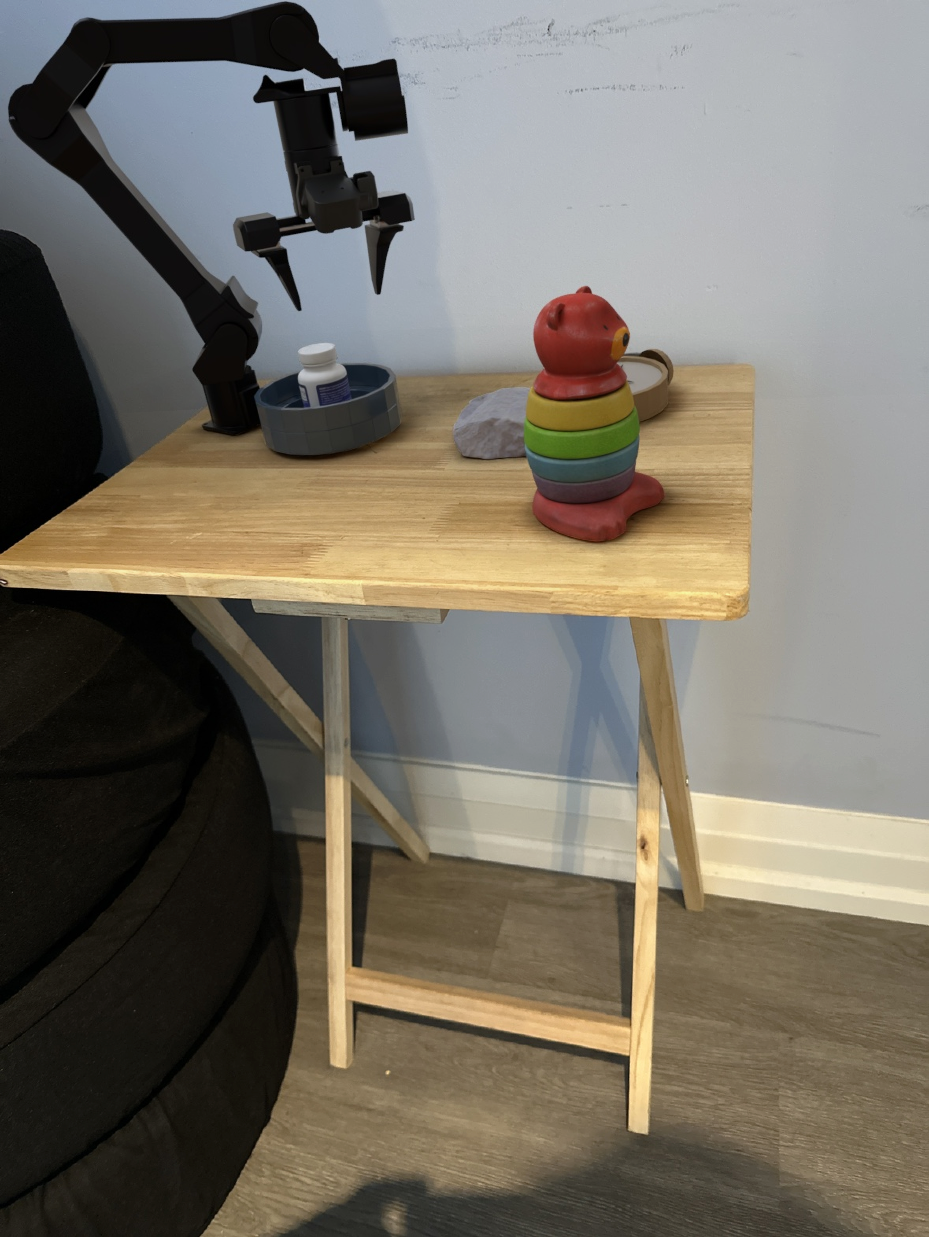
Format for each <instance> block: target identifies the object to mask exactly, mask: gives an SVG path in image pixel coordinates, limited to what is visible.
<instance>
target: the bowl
mask: <svg viewBox="0 0 929 1237" xmlns="http://www.w3.org/2000/svg"><path fill="white" fill-rule="evenodd" d="M340 364H341V365H343V366H344V367H345V369H346V372H347V377H348V382H349V387H350V393H351V398H352V399H351V400H348V401H345V402H340V403H335V404H330V405H325V406H316V407H307V408H304V405H303V400H302V396H301V391H300V387H299V382H298V375H299V373H300V371H301V370H299V371H295V372H292V373H289V374H285V375H282V376H280V377H278V378H276V379H273V380H271V381H269V382H268V383H265V385H263V386H261V387H260V389H259V390H258V391H257V393H256V394H255V395H254V398H255V402H256V407H257V411H258V415H259V419H260V423H261V424H260V426H261V431H262V435H263V440H264V443H265V445H266V447H267V448H269V449H270V450H273V451H274V452H277V453H282V454H287V455H293V456H295V455H296V456H297V455H299V456H319V455H320V456H321V455H329V454H330V455H331V454H337V453H343V452H347V451H351V450H355V449H357V448H361V447H364V446H366V445H369V444H372V443H375V442H377V441H378V440H381V439H383V438H385V437H387V436H388V435H390V434H392V433H393V432H394V431H395V430H396V429H397V428H399V427H400V425H401V423H402V420H403V413H402V407H401V401H400V393H399V388H398V382H397V375H396V373H395V372H394V371H393V370H392V368H391V367H387V366H384V365H382V364H375V363H370V362H369V363H367V362H347V363H346V362H345V363H344V362H343V363H340Z"/></svg>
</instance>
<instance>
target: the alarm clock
mask: <svg viewBox="0 0 929 1237" xmlns="http://www.w3.org/2000/svg"><path fill="white" fill-rule="evenodd" d="M617 364H618V365H619V366H620V367H621V368H622V369H623V370H624V371H625V373H626V375H627V381H628V383H629V386H630V389H631V392H632V396H633V400H634V406H635V407H636V410H637V414H638V419H639V423H640V422H642V421H645V420H648V419H651V418H653V417H654V416H656V415H658V414H660V413H661V412H662V411H663V410H665V408H666V407H667V406H668V404H669V398H670V397H669V396H670V395H669V386H670V384H672V383H671V382H672V380H673V378H674V364H673V362H672V360H671V358H670V357H669V356H668V354H667V353H665V352H664V351H663V350H661V349H658V348H647V349H645V350H643V351H641V352H637V351H636V352H625V353H624V355H623V356H622V357H621V358H620V359H619V361H618V362H617Z"/></svg>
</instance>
